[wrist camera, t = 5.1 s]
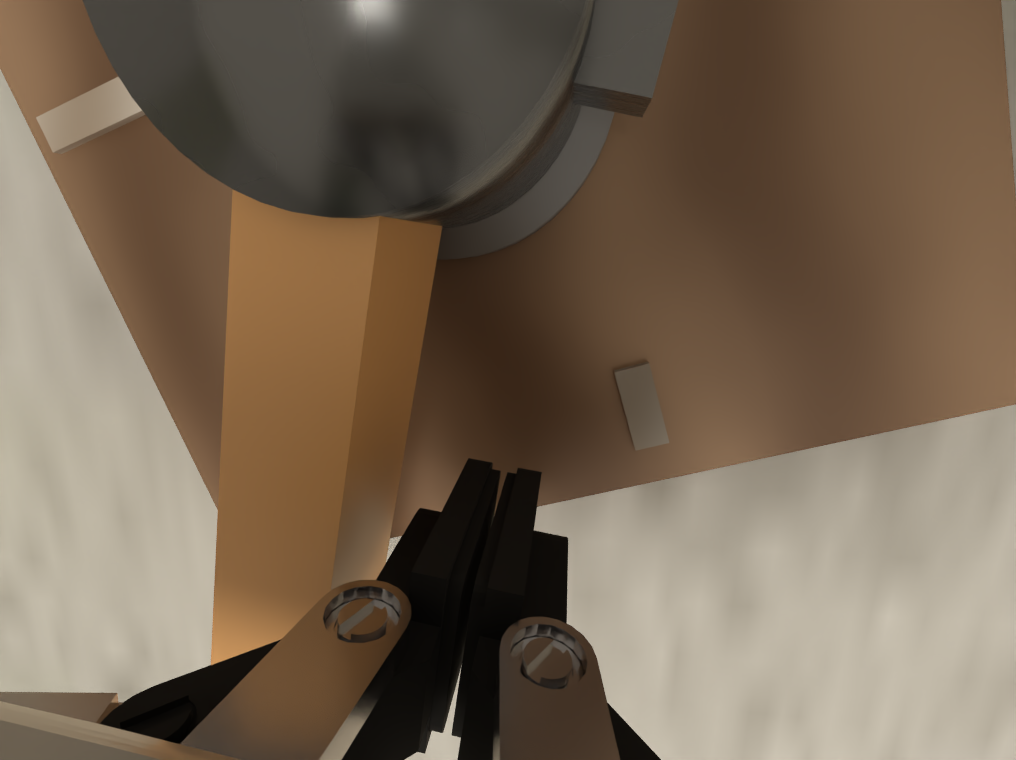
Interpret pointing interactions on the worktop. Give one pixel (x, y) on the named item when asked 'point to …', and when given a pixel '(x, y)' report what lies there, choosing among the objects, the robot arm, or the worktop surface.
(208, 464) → the wooden cutting board
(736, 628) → the worktop surface
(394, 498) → the portafilter
